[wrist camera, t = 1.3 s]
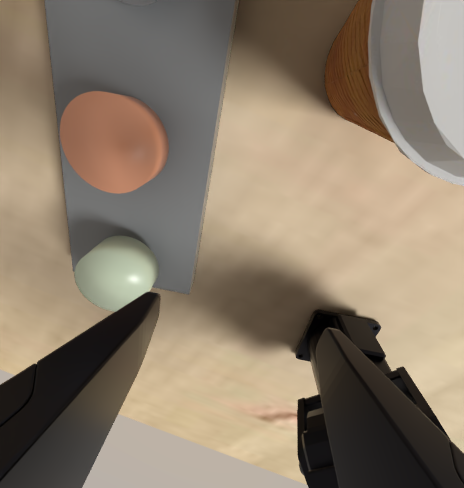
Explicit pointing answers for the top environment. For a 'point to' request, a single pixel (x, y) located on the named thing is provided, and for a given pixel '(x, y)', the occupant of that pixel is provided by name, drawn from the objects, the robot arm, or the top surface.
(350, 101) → the disposable coffee cup
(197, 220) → the panel
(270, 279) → the top surface
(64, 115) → the button terracotta
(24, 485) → the robot arm
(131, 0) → the button bluegrey
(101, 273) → the button sage
